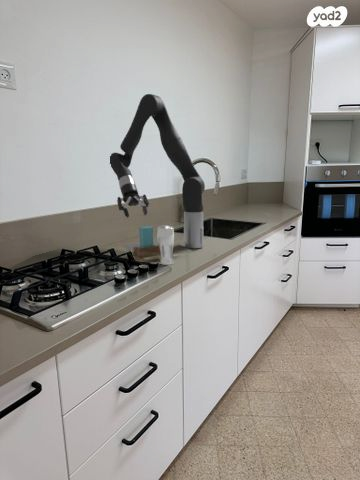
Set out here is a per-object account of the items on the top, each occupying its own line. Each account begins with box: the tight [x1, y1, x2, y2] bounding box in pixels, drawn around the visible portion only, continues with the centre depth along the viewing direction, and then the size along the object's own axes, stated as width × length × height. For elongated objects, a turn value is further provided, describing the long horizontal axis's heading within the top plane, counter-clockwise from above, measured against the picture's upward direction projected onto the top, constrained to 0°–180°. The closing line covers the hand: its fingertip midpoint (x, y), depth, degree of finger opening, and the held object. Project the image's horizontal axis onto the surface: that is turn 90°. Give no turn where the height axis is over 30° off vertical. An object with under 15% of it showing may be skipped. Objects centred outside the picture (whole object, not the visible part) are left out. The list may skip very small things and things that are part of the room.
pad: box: [122, 243, 140, 251], centre depth 164 cm, size 10×10×1 cm
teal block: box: [138, 225, 154, 248], centre depth 149 cm, size 4×4×12 cm
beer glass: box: [156, 225, 175, 266], centre depth 139 cm, size 7×7×15 cm
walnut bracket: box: [124, 243, 159, 263], centre depth 149 cm, size 16×16×5 cm
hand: (136, 215), depth 159 cm, fingers open, 8 cm apart
